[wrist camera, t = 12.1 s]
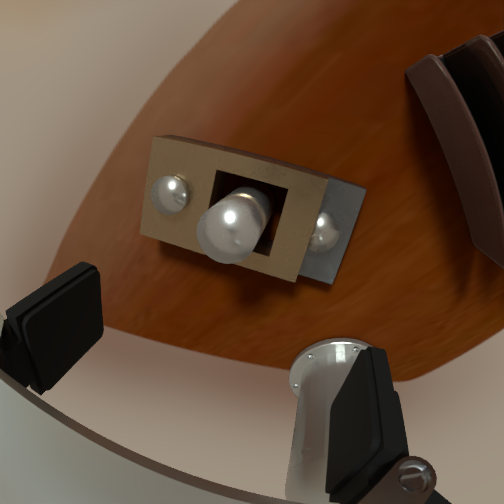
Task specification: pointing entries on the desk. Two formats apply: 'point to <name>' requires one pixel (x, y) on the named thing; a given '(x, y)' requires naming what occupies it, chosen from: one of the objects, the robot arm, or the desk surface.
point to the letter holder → (470, 130)
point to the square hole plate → (263, 169)
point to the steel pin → (235, 223)
